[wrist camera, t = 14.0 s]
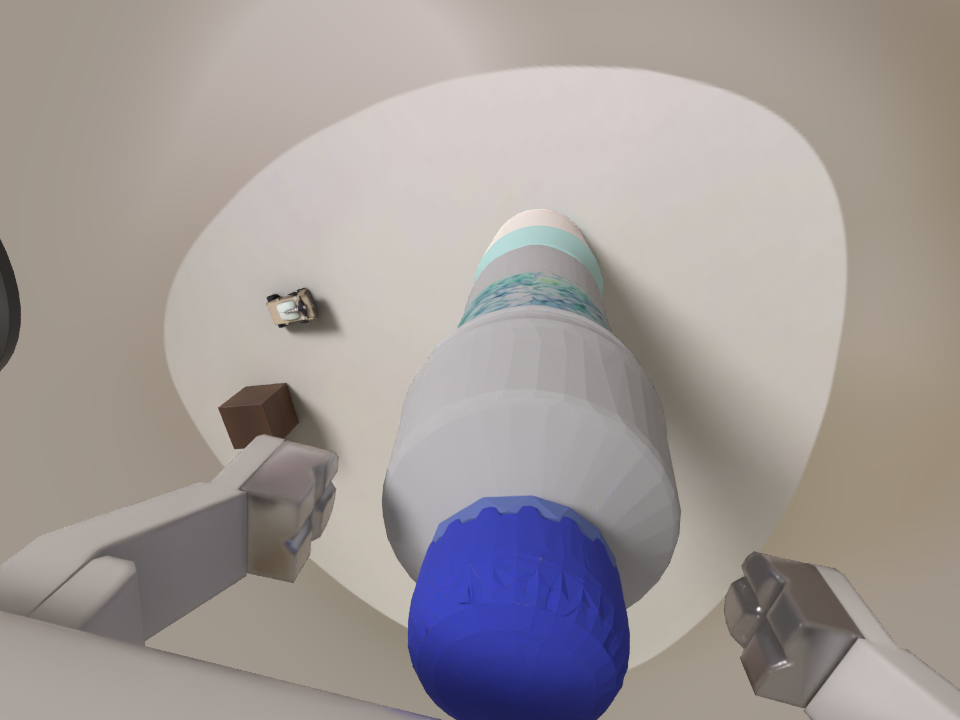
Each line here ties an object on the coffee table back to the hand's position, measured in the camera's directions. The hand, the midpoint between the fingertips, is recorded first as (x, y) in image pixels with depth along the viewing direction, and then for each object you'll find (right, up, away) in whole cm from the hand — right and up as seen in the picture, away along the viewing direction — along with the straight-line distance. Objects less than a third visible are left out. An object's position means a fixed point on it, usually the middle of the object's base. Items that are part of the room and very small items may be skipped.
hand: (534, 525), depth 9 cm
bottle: (+2, +6, +15) cm, 17 cm away
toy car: (-16, +8, +30) cm, 35 cm away
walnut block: (-20, -1, +34) cm, 39 cm away
